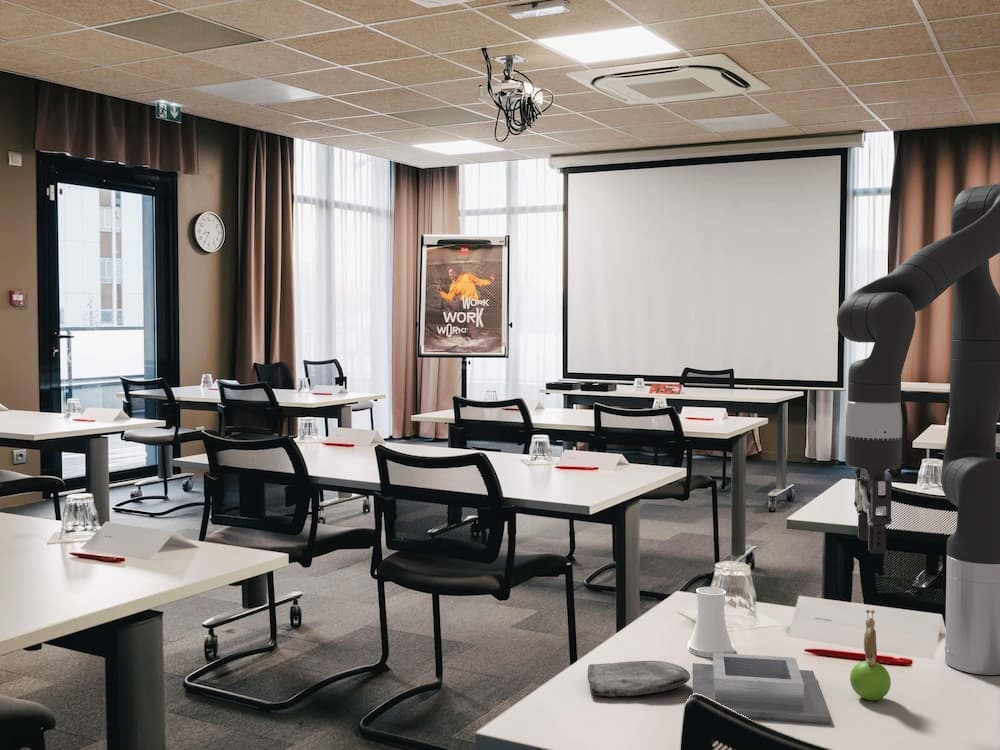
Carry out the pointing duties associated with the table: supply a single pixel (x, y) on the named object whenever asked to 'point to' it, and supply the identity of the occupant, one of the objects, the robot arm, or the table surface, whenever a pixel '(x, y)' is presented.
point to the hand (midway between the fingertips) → (871, 546)
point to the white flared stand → (710, 624)
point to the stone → (635, 678)
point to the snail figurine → (870, 669)
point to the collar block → (762, 687)
